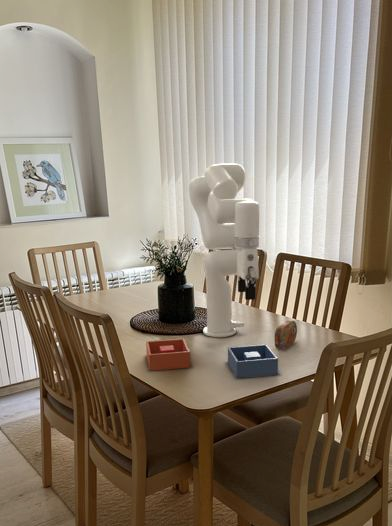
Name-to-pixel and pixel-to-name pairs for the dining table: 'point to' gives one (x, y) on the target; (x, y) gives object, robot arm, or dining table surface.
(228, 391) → the dining table surface
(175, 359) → the terracotta bin
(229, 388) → the dining table surface
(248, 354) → the blue block
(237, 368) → the blue bin
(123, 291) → the dining table surface
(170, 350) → the red block
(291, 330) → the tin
